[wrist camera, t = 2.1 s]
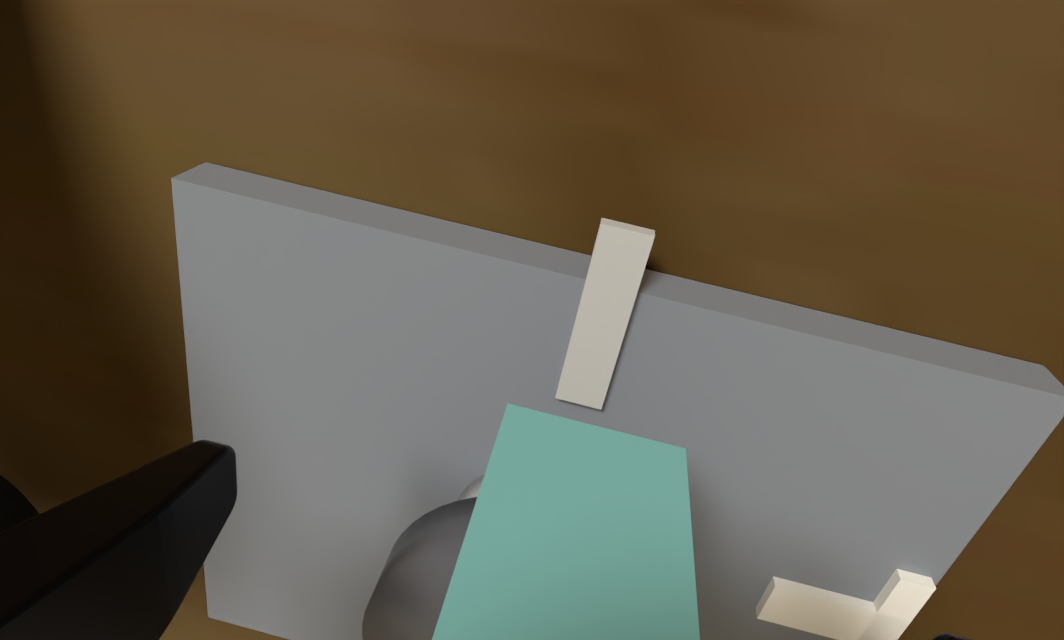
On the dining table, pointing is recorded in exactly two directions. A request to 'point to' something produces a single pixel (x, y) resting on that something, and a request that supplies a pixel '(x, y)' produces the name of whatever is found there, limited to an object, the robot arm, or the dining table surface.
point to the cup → (13, 506)
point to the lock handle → (550, 544)
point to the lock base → (569, 409)
